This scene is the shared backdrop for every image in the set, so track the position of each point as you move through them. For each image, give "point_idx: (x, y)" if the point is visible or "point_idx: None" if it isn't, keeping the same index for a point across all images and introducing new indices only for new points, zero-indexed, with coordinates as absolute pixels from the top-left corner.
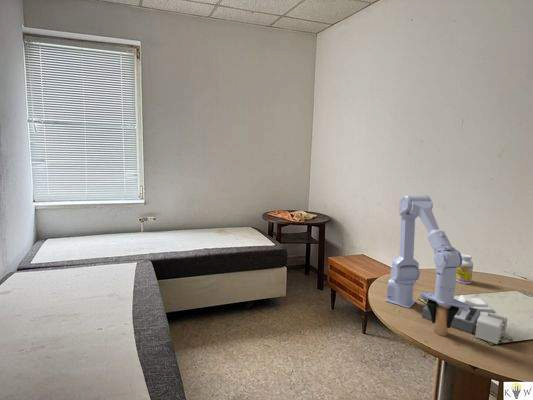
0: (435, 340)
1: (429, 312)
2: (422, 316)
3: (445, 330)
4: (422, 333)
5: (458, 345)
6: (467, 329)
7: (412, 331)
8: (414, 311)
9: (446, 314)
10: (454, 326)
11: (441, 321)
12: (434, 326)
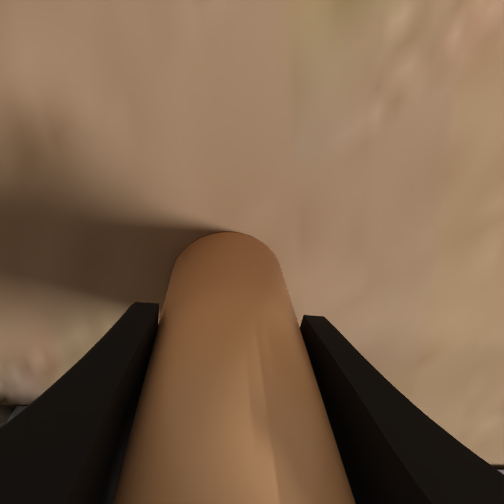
0: (251, 88)
1: None
2: None
3: (177, 280)
4: (381, 170)
5: (16, 124)
6: None
7: (475, 152)
8: None
9: (141, 488)
10: None
11: (226, 329)
12: (290, 299)
